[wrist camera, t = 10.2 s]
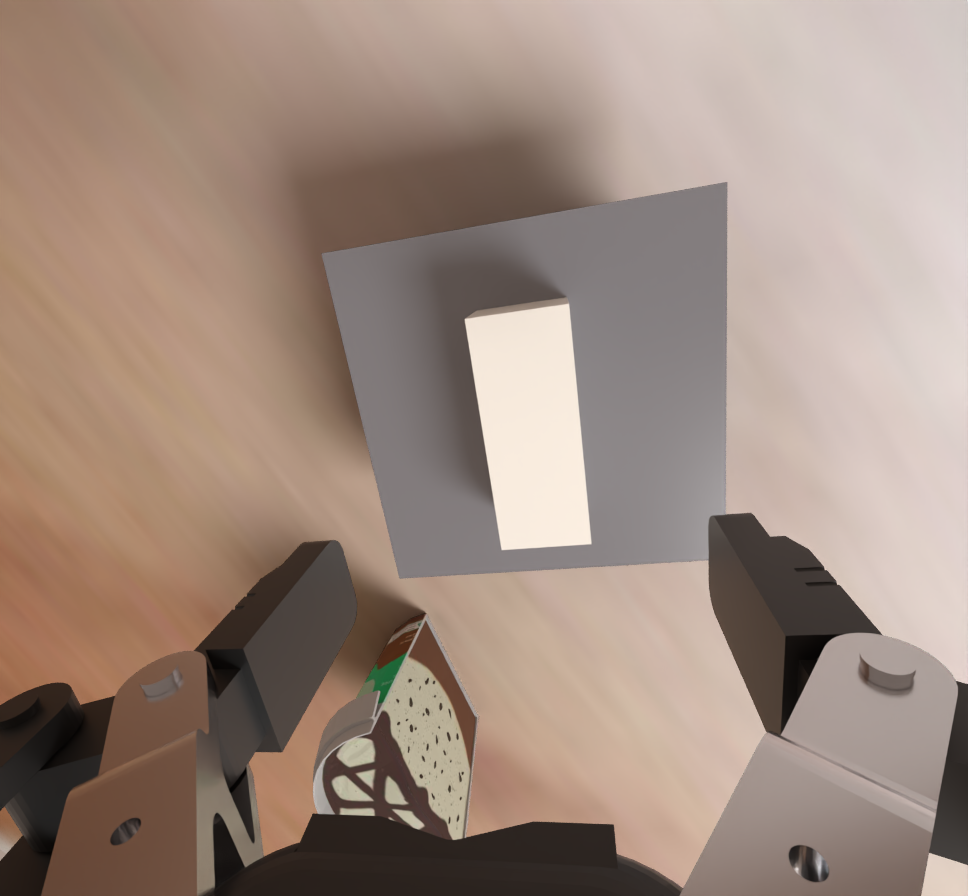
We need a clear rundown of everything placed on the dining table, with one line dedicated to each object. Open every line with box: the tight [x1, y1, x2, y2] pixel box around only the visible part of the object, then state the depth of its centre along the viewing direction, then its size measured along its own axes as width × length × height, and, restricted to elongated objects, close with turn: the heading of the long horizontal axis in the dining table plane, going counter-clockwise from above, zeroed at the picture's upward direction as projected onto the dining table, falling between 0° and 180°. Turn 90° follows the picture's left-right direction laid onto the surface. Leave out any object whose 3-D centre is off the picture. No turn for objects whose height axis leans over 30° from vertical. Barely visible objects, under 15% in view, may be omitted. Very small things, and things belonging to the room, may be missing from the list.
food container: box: [313, 613, 479, 840], centre depth 31 cm, size 12×6×10 cm, turn 22°
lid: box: [321, 182, 727, 578], centre depth 20 cm, size 15×15×4 cm
